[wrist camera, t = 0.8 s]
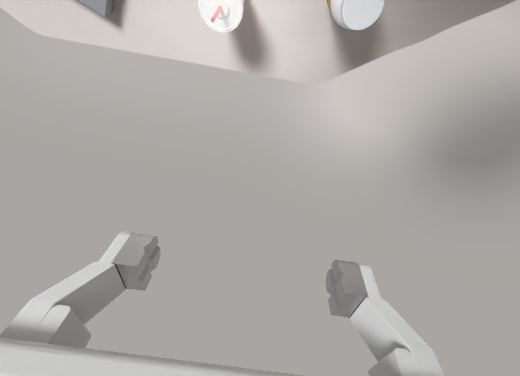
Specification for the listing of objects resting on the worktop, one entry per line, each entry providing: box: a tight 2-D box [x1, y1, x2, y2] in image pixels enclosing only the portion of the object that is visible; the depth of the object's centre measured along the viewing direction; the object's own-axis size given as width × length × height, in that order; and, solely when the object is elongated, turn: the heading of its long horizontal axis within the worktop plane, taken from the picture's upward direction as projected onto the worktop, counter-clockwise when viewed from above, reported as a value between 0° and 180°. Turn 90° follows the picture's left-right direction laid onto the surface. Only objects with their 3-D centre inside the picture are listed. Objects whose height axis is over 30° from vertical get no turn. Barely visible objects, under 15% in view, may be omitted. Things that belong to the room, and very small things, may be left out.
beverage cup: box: [198, 0, 244, 33], centre depth 34 cm, size 6×6×14 cm
